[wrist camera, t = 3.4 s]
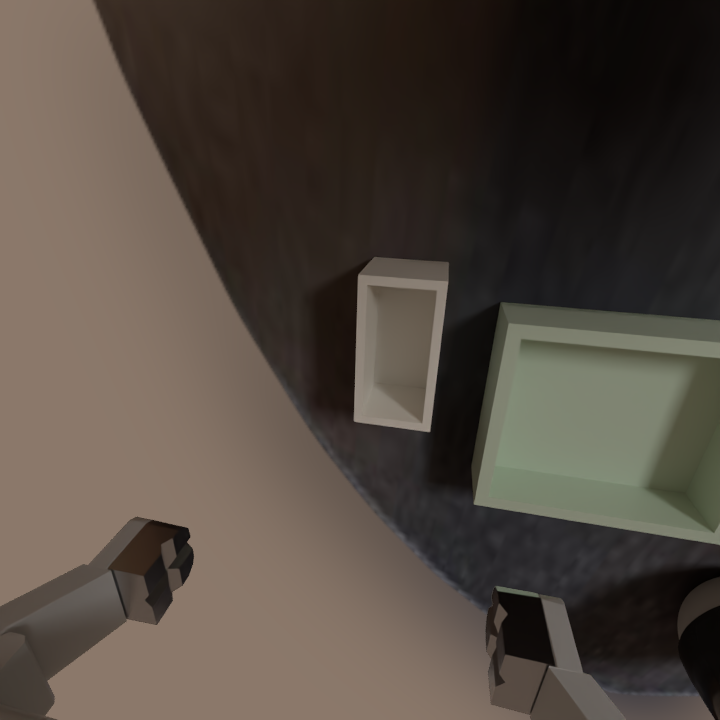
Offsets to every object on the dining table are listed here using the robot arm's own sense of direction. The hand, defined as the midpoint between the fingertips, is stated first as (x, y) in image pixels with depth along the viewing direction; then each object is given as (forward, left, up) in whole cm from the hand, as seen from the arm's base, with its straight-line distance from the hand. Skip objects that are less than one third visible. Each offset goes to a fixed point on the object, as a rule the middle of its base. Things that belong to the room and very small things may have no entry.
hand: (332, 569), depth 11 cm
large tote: (-13, +4, -19) cm, 23 cm away
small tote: (0, 0, -19) cm, 19 cm away
